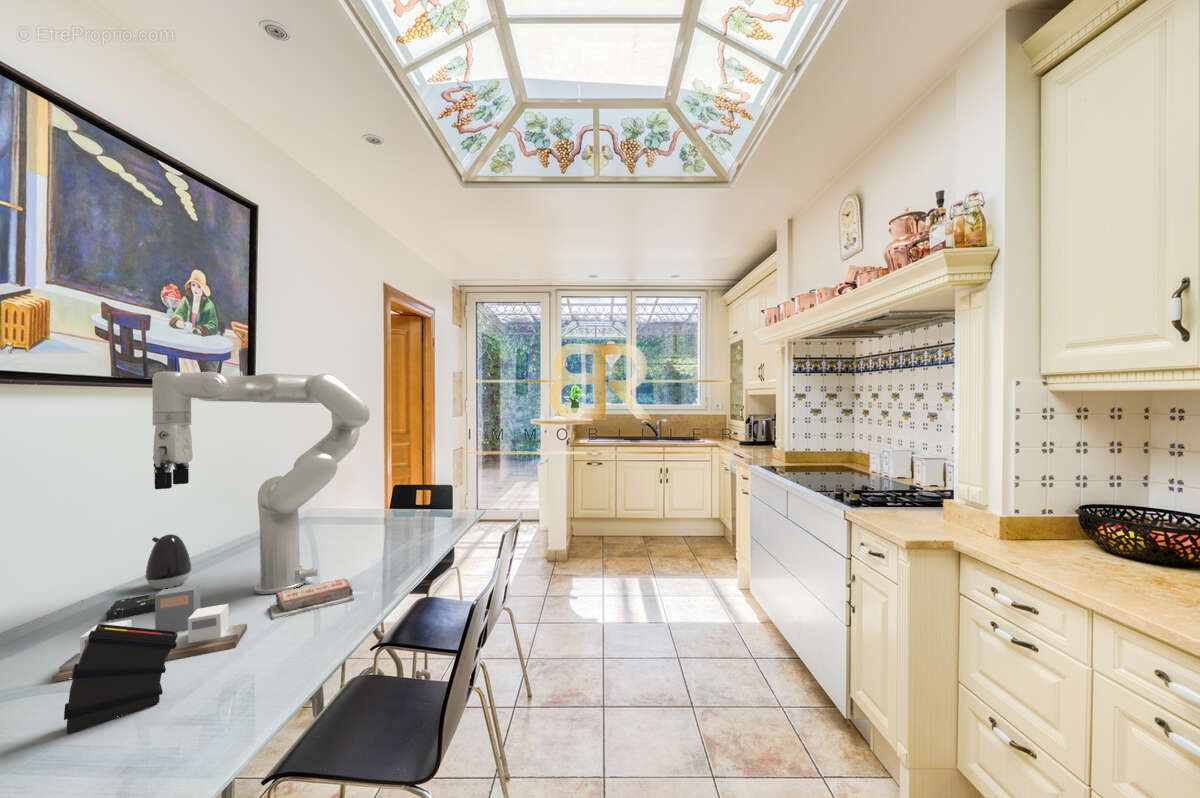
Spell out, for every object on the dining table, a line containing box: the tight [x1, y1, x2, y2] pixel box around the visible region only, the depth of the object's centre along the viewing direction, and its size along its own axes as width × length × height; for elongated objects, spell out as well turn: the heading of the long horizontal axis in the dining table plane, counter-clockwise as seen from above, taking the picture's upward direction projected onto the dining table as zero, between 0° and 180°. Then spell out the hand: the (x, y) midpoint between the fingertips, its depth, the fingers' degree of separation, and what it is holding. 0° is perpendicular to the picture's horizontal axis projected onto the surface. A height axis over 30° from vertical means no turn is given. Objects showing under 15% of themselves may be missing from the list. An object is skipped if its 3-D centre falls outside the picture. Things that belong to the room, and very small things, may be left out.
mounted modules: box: [79, 603, 230, 658], centre depth 101 cm, size 22×6×5 cm, turn 115°
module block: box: [154, 583, 201, 633], centre depth 114 cm, size 7×5×9 cm
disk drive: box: [105, 592, 159, 622], centre depth 128 cm, size 10×3×15 cm
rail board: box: [52, 623, 248, 683], centre depth 101 cm, size 28×10×2 cm, turn 115°
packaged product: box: [269, 578, 355, 620], centre depth 126 cm, size 18×5×10 cm
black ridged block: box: [63, 623, 179, 735], centre depth 80 cm, size 4×13×15 cm, turn 136°
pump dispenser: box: [144, 533, 192, 590], centre depth 144 cm, size 10×10×15 cm
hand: (172, 486), depth 125 cm, fingers open, 9 cm apart
